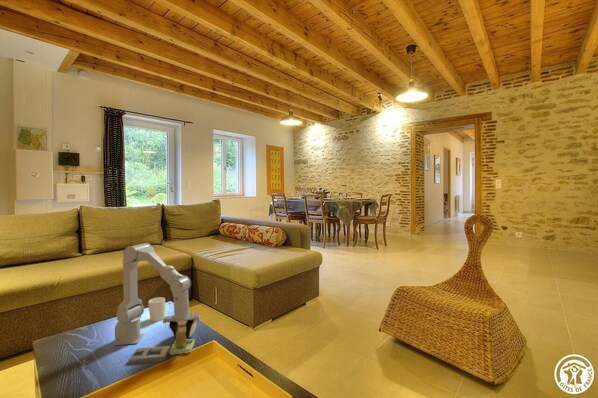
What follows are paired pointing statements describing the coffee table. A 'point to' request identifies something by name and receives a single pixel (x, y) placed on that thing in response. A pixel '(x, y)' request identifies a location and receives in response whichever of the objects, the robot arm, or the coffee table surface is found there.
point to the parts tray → (184, 350)
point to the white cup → (157, 309)
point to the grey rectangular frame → (143, 353)
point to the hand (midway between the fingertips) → (182, 338)
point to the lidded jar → (183, 324)
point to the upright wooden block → (181, 338)
